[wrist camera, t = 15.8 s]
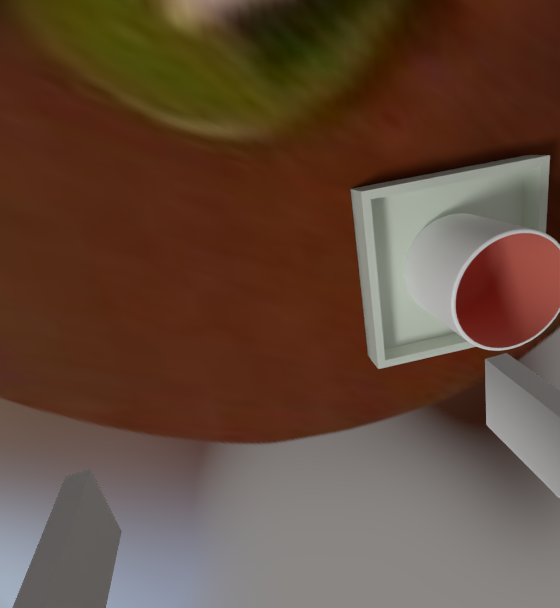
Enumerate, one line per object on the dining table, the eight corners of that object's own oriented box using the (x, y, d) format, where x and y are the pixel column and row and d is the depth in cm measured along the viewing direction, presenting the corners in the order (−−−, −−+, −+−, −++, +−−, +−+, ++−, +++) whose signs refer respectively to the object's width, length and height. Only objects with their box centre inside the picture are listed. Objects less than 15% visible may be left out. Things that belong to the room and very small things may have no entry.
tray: (350, 188, 40) (361, 191, 37) (527, 155, 41) (550, 155, 38) (368, 355, 46) (378, 368, 43) (520, 321, 47) (540, 331, 44)
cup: (435, 192, 40) (503, 205, 31) (512, 240, 43) (595, 264, 34) (380, 285, 42) (427, 322, 33) (456, 324, 45) (520, 368, 36)
